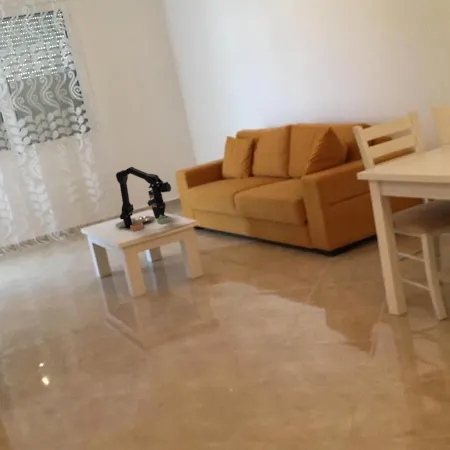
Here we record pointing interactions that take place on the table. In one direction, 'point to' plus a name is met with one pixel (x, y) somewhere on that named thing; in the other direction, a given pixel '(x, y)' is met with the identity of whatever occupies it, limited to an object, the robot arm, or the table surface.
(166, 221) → the green cup
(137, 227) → the terracotta cup
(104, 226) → the table surface
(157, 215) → the travel mug
